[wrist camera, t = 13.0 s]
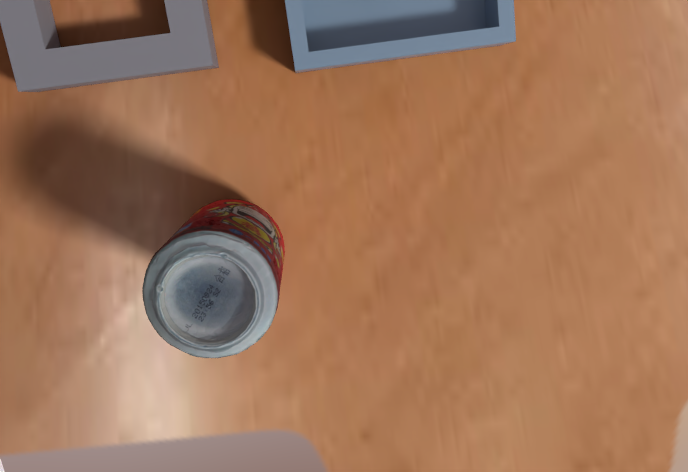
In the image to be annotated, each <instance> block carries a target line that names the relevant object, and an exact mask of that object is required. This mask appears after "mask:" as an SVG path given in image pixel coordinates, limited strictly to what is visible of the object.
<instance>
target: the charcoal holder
mask: <svg viewBox="0 0 688 472" xmlns="http://www.w3.org/2000/svg"><path fill="white" fill-rule="evenodd" d="M164 2H165V7H166V12H167V18H168V23H169V28H170V33H167V34H159V35H151V36H144V37H136V38H129V39H121V40H113V41H106V42H98V43H90V44H83V45H75V46H68V47H60V42H59V38H58V34H57V30H56V26H55V21H54V17H53V13H52V9H51V5H50V0H0V23H1V27H2V31H3V35H4V39H5V42H6V46H7V50H8V54H9V58H10V62H11V66H12V69H13V73H14V77H15V81H16V85H17V89H18V91H21V92H40V91H48V90H55V89H63V88H70V87H78V86H85V85H92V84H100V83H107V82H115V81H122V80H130V79H137V78H145V77H152V76H160V75H167V74H175V73H182V72H190V71H197V70H205V69H212V68H219V66H218V60H217V55H216V49H215V43H214V38H213V32H212V26H211V21H210V15H209V10H208V4H207V0H164Z"/></svg>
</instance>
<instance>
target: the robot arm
mask: <svg viewBox="0 0 688 472" xmlns="http://www.w3.org/2000/svg"><path fill="white" fill-rule="evenodd" d="M0 472H4V469H3V465H2V462H1V459H0Z"/></svg>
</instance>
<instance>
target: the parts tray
mask: <svg viewBox="0 0 688 472" xmlns="http://www.w3.org/2000/svg"><path fill="white" fill-rule="evenodd" d="M285 5H286V12H287V19H288V25H289V32H290V39H291V46H292V53H293V59H294V66H295V72H296V73H300V72H307V71H315V70H322V69H329V68H337V67H344V66H352V65H359V64H367V63H374V62H381V61H389V60H396V59H404V58H411V57H419V56H426V55H433V54H441V53H448V52H456V51H463V50H470V49H478V48H485V47H493V46H500V45H504V44H507V43H511V42H514V41H516V35H515V17H514V0H285Z"/></svg>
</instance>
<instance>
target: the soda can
mask: <svg viewBox="0 0 688 472" xmlns="http://www.w3.org/2000/svg"><path fill="white" fill-rule="evenodd" d="M284 254H285V250H284V241H283V236H282V234H281V232H280V229H279V227H278V225H277V224H276V222H275V221H274V220H273V219H272V217H271V216H270V215H269V214H268V213H267V212H266V211H264V210H263V209H261V208H260V207H259V206H257V205H255V204H252V203H250V202H246V201H242V200H235V199H225V200H219V201H215V202H213V203H210V204H208V205H206V206H204V207H202V208H201V209H200V210H198V211H197V212H196V213H194V214H193V216H192V217H191V218H190V219H189V220H188V221H187V222H186V223H185V224H184V225H183V226H182V227H181V228H180V229H179V230H178V231H177V232H176V233H175V234H174V235H173V236H172V237H171V238H170V239H169V240H168V242H167V243H165V244H164V245H163V246H162V247H161V248H160V249H159V250H158V251H157V252H156V253H155V254H154V256H153V258H152V259H151V261H150V263H149V265H148V268H147V270H146V274H145V278H144V283H143V301H144V305H145V310H146V314H147V316H148V319H149V320H150V322H151V324H152V326H153V327H154V329H155V330H156V331H157V333H158V334H159V335H160V336H161V337H162V338H163V339H164V340H165V341H166V342H167V343H169V344H170V345H172V346H174V347H175V348H177V349H179V350H181V351H183V352H185V353H188V354H190V355H192V356H196V357H203V358H221V357H226V356H231V355H235V354H238V353H240V352H242V351H244V350H246V349H248V348H249V347H250V346H252V345H253V344H254V343H256V342H257V341H258V340H259V339H260V338H261V337H262V336H263V335H264V334H265V332H266V331H267V330H268V328H269V327H270V325H271V323H272V321H273V318H274V316H275V313H276V310H277V307H278V301H279V292H280V285H281V278H282V270H283V262H284Z"/></svg>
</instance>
